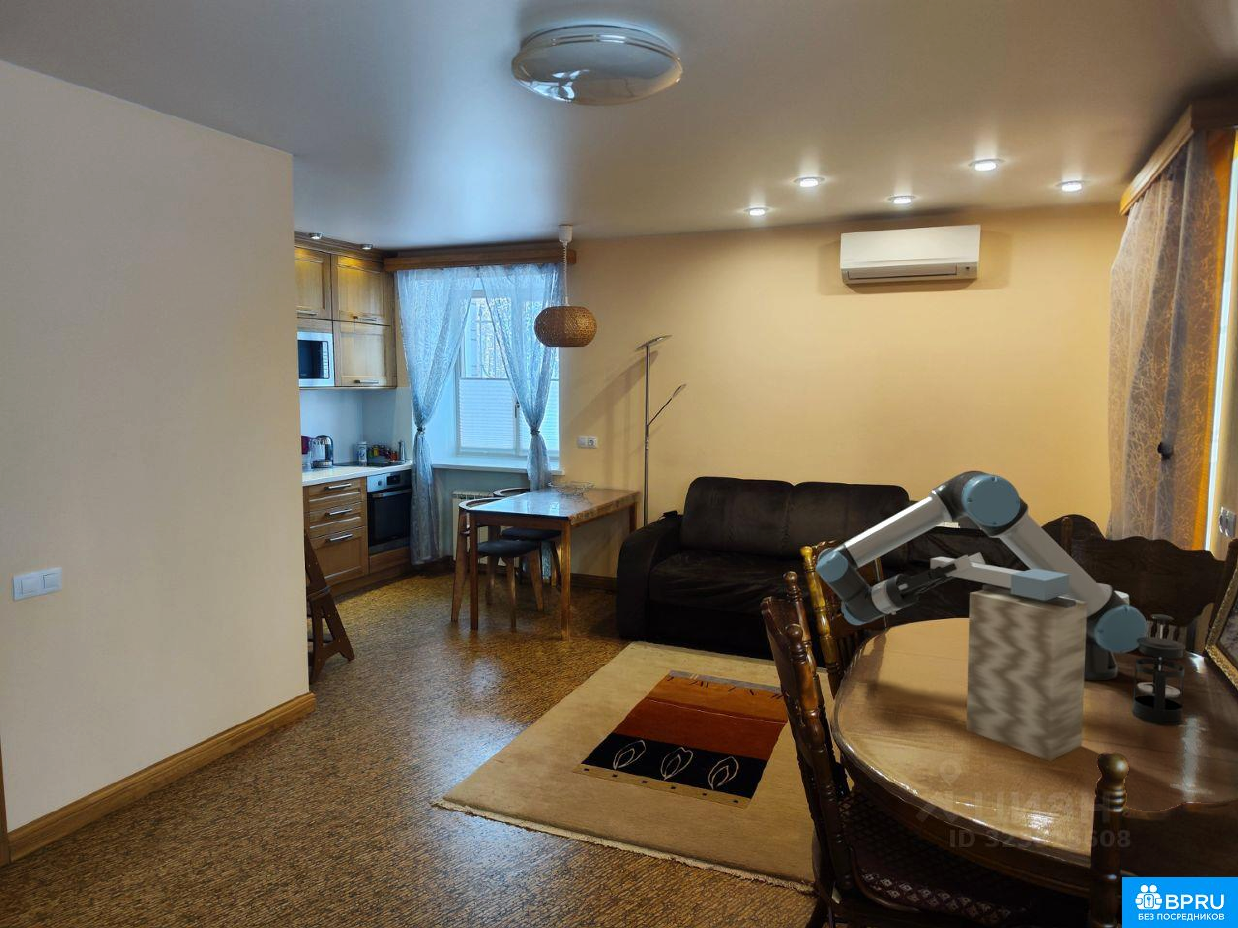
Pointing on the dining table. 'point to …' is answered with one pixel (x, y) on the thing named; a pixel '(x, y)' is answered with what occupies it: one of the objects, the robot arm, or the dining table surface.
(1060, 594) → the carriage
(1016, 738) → the patterned tall box
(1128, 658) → the dining table surface
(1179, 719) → the french press
